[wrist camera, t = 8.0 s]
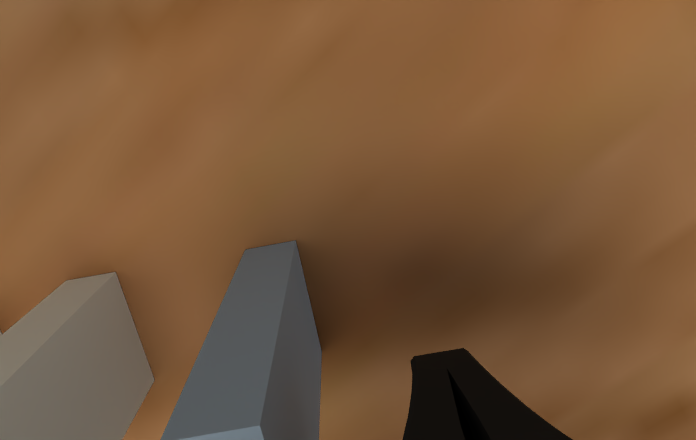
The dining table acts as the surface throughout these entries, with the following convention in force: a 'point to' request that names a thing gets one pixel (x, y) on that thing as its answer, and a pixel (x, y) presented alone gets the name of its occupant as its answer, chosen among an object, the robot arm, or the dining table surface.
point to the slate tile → (256, 358)
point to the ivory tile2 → (73, 366)
